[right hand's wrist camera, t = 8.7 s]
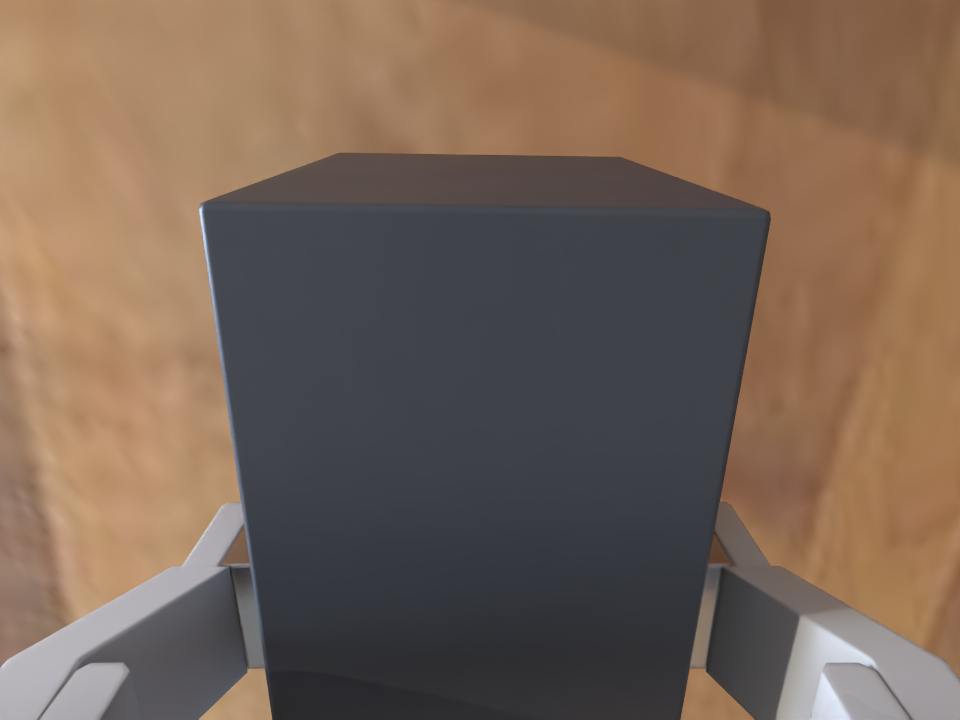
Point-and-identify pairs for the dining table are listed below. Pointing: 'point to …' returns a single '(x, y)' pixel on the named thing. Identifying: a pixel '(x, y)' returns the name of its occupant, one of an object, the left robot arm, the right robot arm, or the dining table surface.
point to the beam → (480, 427)
